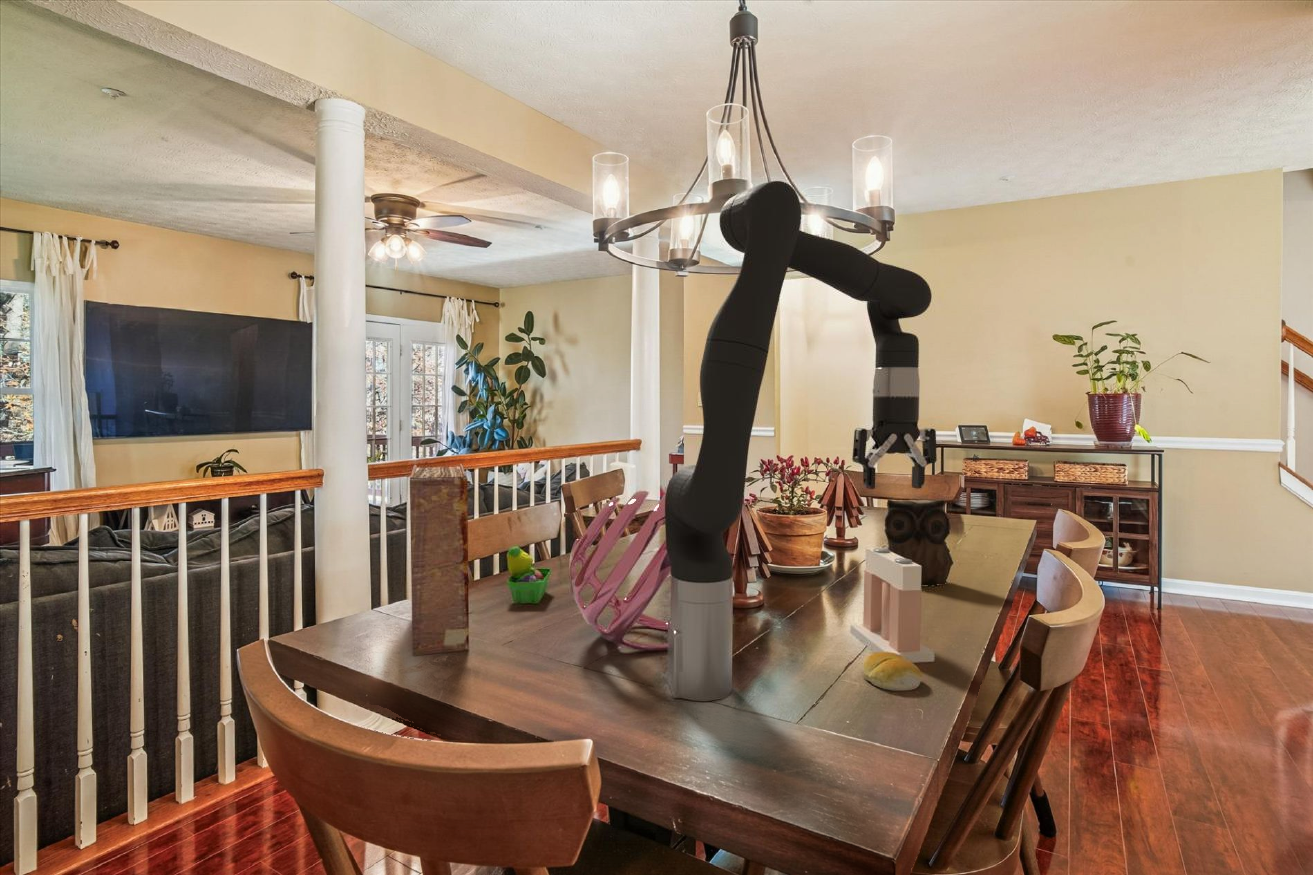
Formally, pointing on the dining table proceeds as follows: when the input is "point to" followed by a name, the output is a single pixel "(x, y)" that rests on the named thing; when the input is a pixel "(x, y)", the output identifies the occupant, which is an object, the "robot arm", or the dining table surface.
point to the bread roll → (891, 672)
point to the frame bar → (893, 569)
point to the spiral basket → (621, 572)
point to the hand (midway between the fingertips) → (893, 488)
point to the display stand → (891, 620)
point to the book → (439, 559)
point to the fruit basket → (525, 577)
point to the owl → (920, 536)
